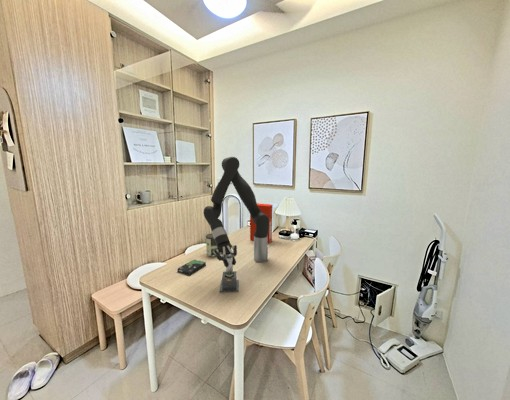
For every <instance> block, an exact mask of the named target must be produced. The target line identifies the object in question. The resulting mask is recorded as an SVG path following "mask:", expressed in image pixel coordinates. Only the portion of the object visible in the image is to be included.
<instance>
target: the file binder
mask: <svg viewBox="0 0 510 400" xmlns="http://www.w3.org/2000/svg"><path fill="white" fill-rule="evenodd" d="M256 203H257V205H258V207H259V209H260V210H261V211H262V213H264V214H265V215H267V216H268V218H269V232H268V236H267V244H270V243H271V242H272V240H273V204H271V203H270V204H269V203H258V202H256ZM249 217H250V218H249V219H250V221H249V241H251V242H254V232H255V231H256V224H255V223H254V222H253V220H252V217H251V215H250V214H249Z"/></svg>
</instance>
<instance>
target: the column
mask: <svg viewBox="0 0 510 400" xmlns="http://www.w3.org/2000/svg"><path fill="white" fill-rule="evenodd" d="M224 256H225V257H226V260H227V262H228V265H229V266H228V267H225V272H226V277H233V270H234V267H233V266H234V265H233V256H234V253H230V252H229V253H226V254H224Z"/></svg>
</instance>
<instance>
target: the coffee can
mask: <svg viewBox="0 0 510 400" xmlns="http://www.w3.org/2000/svg"><path fill="white" fill-rule="evenodd" d="M205 241H206V242H205V243H206V244H205V245H206V250H205V251H206V256H208V257H216V256H215V255H214V253H213V252H214V250H217V246H216V243H215V240H214V237H213V233H212V232H210V233H207V234H206V235H205ZM218 252H219V251H218ZM219 254H220V255H221V253H220V252H219Z"/></svg>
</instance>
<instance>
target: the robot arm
mask: <svg viewBox="0 0 510 400" xmlns="http://www.w3.org/2000/svg"><path fill="white" fill-rule="evenodd" d="M221 168H222V170H223V174H222V175H221V178H220V180H219V182H218V183H217V185H216V186H215V188H214V190H213V193H212V194H211V197H210V199H211V200H210V202H212V204H213V205H212V206H211V205H207V206H205V207H204V209H203V213H202V214H203V217H204V219H205V220H206V222H207V223H208V225H209V227H210V229H211V233H213V237H214V240H215V243H216V246H217V250H214V252H213V253H214V255H215V256H214V257H216V258H217V260H218V261H219V262H220V261H222V263H223V264H224V267H225V268H226V267H228V266H229V265H228V262H227V260H226V257H225V256H224V254H226V253H229V252H230V253H234V256H233V266H235V265H236V264H237V261H236V258H235V257H236V256H237V255H238V250H237V249H238V246H237V245H236V244H234V245H233V244H232V243H231V242H230V239H229V236H228V234H227V232H226V229H225V226H224V224H223V221H222V220H221V219H220V216H221V215H222V208H223V202H224V199H225V196H226V194H227V192H228V188H229V186H230V185H231V183H232V185H233V187H234V189H235V191H236V193H237V195H238V196H239V198H240V200H241V202H242V204H243V205H244V206H245V208H246V209H247V211H248V213H249V216H250V215H251V217H252V220H253V222H254V223H255V224H256V231H255V232H254V241H253V261H255V262H257V263H265V262H268V258H269V257H268V253H269V249H268V248H269V247H268V243H267V236H268V232H269V218H268V216H267V215H265V214H264V213H262V211H261V210H260V209H259V207H258V205H257V203H258V202H257V199H256V195H255V193H254V191H253V189H252V187H251V186H250V184H249V183H248V182H247V180H245V179H244V178H243V176H242V175H241V173H239V168H240V161H239V159H238V158H237V157H235V156H228V157H225V158H224V159H222V161H221ZM218 251H219V252H220V254H219V252H218Z"/></svg>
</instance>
